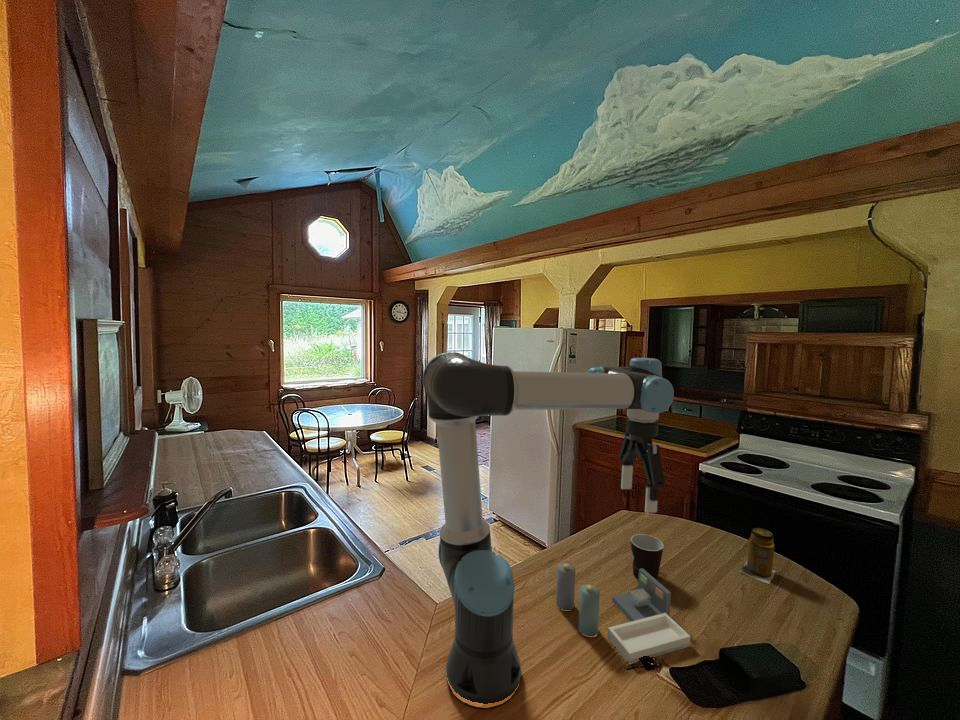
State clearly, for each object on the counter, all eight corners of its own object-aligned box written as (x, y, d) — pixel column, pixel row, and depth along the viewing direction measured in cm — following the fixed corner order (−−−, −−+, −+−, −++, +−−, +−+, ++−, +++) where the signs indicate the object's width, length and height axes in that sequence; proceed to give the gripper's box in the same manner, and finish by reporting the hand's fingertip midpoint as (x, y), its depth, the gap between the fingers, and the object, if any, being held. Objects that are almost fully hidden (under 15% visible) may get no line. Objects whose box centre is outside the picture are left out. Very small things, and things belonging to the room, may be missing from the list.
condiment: (776, 571, 119) (779, 532, 118) (769, 584, 113) (772, 543, 112) (746, 560, 124) (750, 523, 123) (738, 572, 118) (742, 533, 117)
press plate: (638, 607, 100) (638, 599, 100) (630, 598, 103) (630, 591, 103) (650, 604, 101) (651, 596, 101) (641, 595, 104) (642, 588, 104)
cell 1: (561, 613, 101) (562, 572, 100) (553, 601, 106) (554, 562, 104) (577, 609, 103) (578, 569, 102) (568, 598, 107) (569, 559, 106)
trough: (629, 664, 87) (629, 653, 86) (607, 637, 94) (607, 627, 94) (689, 646, 91) (690, 636, 91) (664, 622, 99) (665, 612, 98)
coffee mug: (657, 589, 110) (659, 554, 109) (624, 577, 116) (626, 543, 115) (667, 568, 120) (669, 536, 119) (637, 558, 125) (639, 526, 124)
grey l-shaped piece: (638, 628, 97) (639, 600, 96) (612, 600, 106) (613, 574, 105) (669, 620, 99) (671, 592, 98) (641, 593, 109) (642, 568, 108)
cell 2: (585, 639, 93) (586, 595, 92) (574, 625, 97) (576, 583, 96) (601, 635, 94) (603, 591, 93) (591, 621, 99) (592, 579, 98)
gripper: (685, 432, 92) (678, 523, 94) (634, 408, 117) (630, 480, 119) (653, 432, 91) (647, 523, 94) (608, 408, 116) (605, 480, 118)
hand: (637, 499), depth 106 cm, fingers open, 13 cm apart
